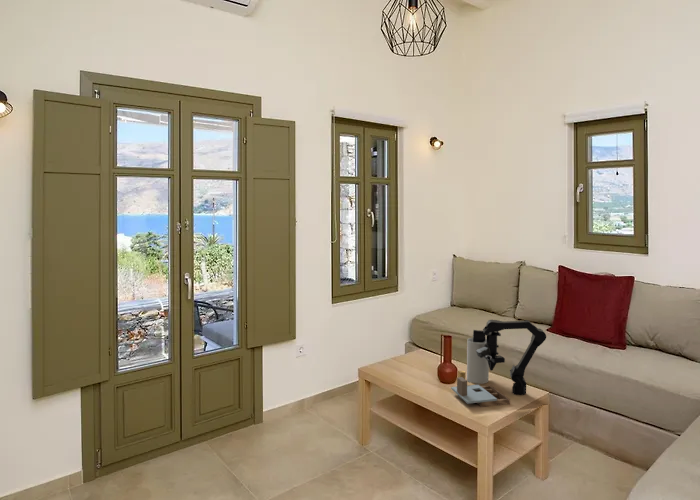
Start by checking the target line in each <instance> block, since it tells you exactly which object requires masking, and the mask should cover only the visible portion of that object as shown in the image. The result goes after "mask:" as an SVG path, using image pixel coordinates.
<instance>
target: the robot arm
mask: <svg viewBox="0 0 700 500" xmlns="http://www.w3.org/2000/svg"><path fill="white" fill-rule="evenodd" d="M521 329H522V330H524V329H526V330H527V331H529V332H530V334H532V335H531V338H530V342H529V344H528V346H527V348H526V349H525V351H524V353H523V354H522V356H521V359H520V360H519V362H518V363H517V364H516V365H515V364H513V365H512V366H511V368H510V369H509V372H510V373H509V375H510V379H511V381H512V382H513V383H512V387H511V388H512V389H511V391H512V392H511V393H512V394H513V395H516V396H524V395H526V394H527V384H528V383H527V382H526V379H525V377H524V375H525V371H526V369H527V366H528V365H529V363H530V362H531V359H532V358H533V356H534V354H535V352H536V351H537V349H538V347H540V346H541V345H542V344H543V343H544V342H545V341H546V339H547V334H546V333H545V331H544V330H543V329H542V328H538V327H537V326H536V325H534V324H533V323H532V322H531V321H530V320H527V319H526V320H510V321H509V320H507V321H505V320H504V321H502V320H498V319H488V320H487V322H486V325H485V326H484V327H483V329H482V330H477V329H473V331H472V338H473V342H479V343H483V342H484V341H485V339H486V344H485V345H484V347H483V348H480V349H478V350H476V352H477V355H478V356H479V357H480V358H483V357H484V358H485V359H486V360H487V361H488V365H489V371H490V372H491V371H493V370H494V368H495V366H496V365H497V364H503V363H505V362H506V359H505V357H503V356H502V355H500V354H499V352H498V348H499V344H498V337H502V335H501V333H500V332H501V331H503V330H521Z"/></svg>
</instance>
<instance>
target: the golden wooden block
mask: <svg viewBox="0 0 700 500" xmlns="http://www.w3.org/2000/svg"><path fill="white" fill-rule="evenodd" d="M457 377H463V378H464V379H465V380H466V378H467V371H465V370H457Z"/></svg>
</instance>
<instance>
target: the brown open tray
mask: <svg viewBox="0 0 700 500" xmlns="http://www.w3.org/2000/svg"><path fill="white" fill-rule="evenodd" d="M480 386H481V387H482V388H484V389H485V390H486V391H488V392H489V393H490V394H491V395H493V396H494V397H495V398H497V401H488V402H478V403H476V404H477V405H478V406H479V407H481V408H483V407H493V406H504V405H505V406H506V405H510V403H511V401H510V400H511V399H510V398H509V397H507V396H506V395H505V394H503V393H502V392H501V391H499V390H498V389H497V388H495V387H494V386H493V385H480ZM474 391H475V392H480V390H474Z"/></svg>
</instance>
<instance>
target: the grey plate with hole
mask: <svg viewBox="0 0 700 500" xmlns="http://www.w3.org/2000/svg"><path fill="white" fill-rule="evenodd" d="M481 386H482V385H481V384H472V385H471V384H469V385H468V381H467V379H466V378H465V379H464V378H463V377H458V376H457V378H456V386H452V387H450V390H451V391H453V392H454V393H455V394H456V395H457V396H458V397H459V398H460V399H461V400H462V401H464V402H465V403H466V404H477V403H478V402H488V401H497V398H495V397H494V396H493V395H491V394H490V393H489V392H488V391H486V390H485V389H484V388H482V387H481ZM474 390H480V392H475V391H474Z"/></svg>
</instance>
